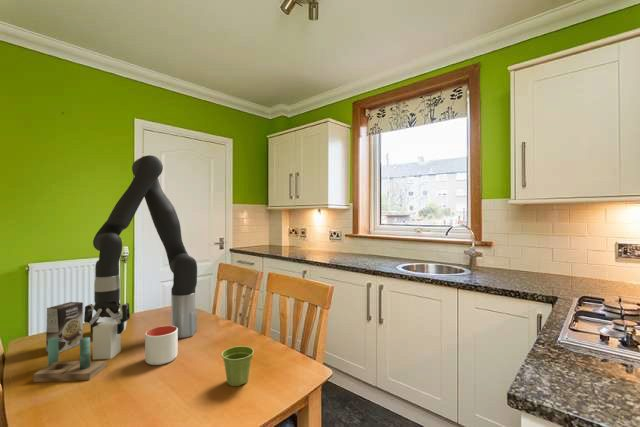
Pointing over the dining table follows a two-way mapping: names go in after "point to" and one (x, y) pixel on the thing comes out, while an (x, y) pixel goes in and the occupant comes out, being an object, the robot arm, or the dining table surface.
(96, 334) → the block
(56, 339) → the pin
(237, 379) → the plant pot
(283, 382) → the dining table surface
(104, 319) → the ramekin
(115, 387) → the dining table surface
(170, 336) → the cup
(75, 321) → the coffee box
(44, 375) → the board
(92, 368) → the board
